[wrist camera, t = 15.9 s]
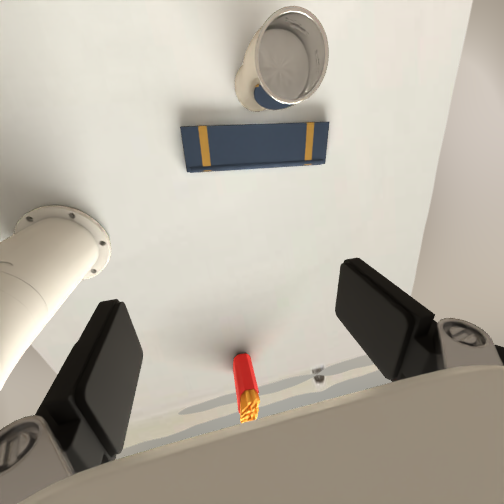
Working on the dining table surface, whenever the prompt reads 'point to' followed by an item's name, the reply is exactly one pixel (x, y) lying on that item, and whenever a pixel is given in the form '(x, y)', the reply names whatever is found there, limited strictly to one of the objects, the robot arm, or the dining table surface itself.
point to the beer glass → (283, 61)
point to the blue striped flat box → (254, 146)
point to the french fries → (246, 388)
